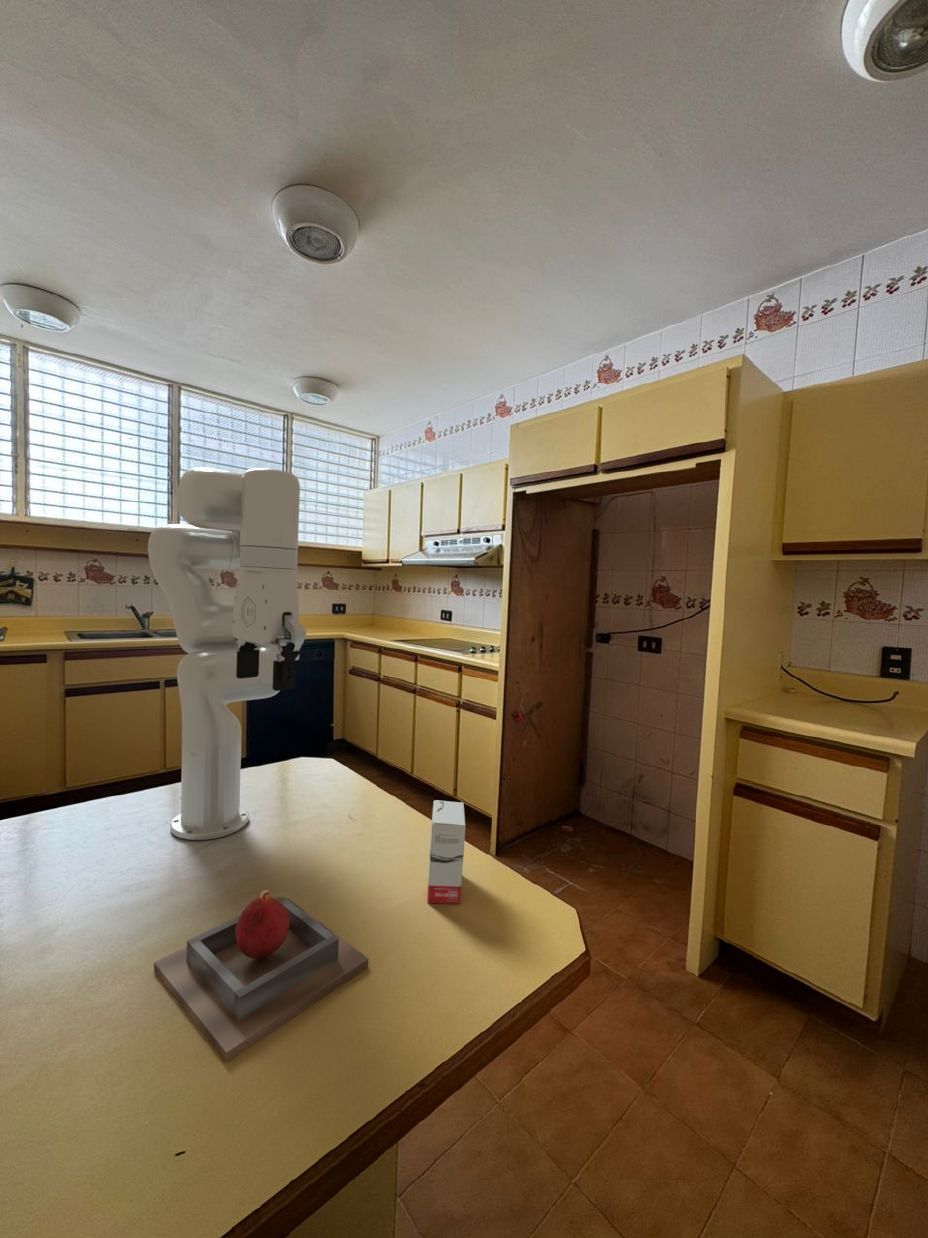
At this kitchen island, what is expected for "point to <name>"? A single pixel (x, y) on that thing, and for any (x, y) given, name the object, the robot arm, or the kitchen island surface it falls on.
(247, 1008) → the dock
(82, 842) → the kitchen island surface
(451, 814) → the ink box
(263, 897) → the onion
